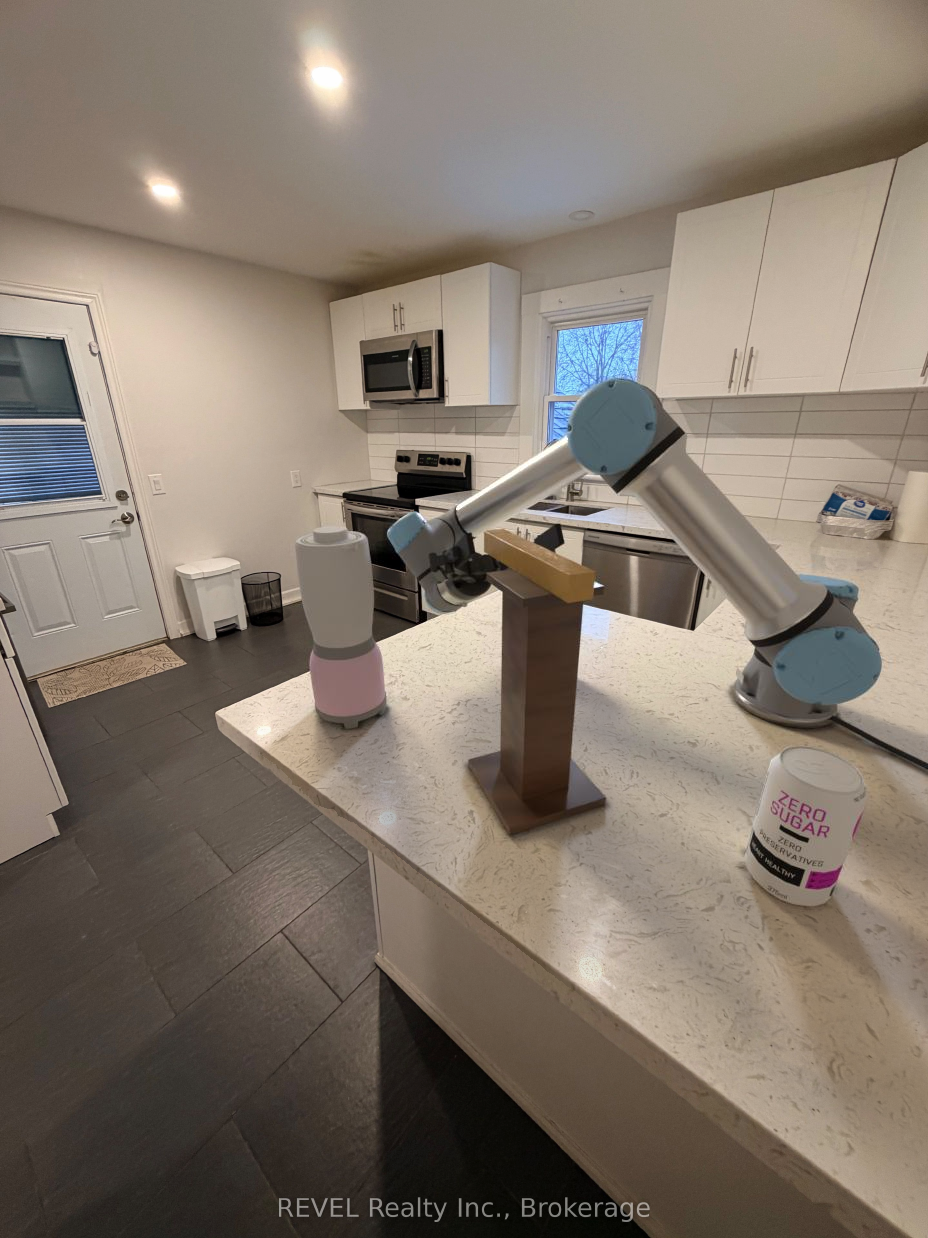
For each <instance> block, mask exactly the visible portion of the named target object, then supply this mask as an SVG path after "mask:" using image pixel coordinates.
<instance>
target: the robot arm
mask: <svg viewBox="0 0 928 1238" xmlns="http://www.w3.org/2000/svg"><path fill="white" fill-rule="evenodd" d="M687 439H688V434H687V432H685V431H684V429H683V428H682V427H681V426H680V425H679V424H678V423H677V422H676V420H674V418H673V417H672V416H671V415H670V414H669V412H667V410H666V409H665V408H664V406H663V404H662V401H661V399H660V398H659V396H658V395H657V394H656V393H655V392H654V391H653V390H652V389H650V387H647V386H646V385H644V384H640V383H639V382H637V381H635V380H632V379H629V378H624V377H622V378H621V377H620V378H619V377H614V378H609V379H606V380H603V381H601V382H598V383H597V384H595V385H593V386H591V387H590V388H588V389H587V390H586V391H585V392H584V393H583V394H582V395H581V396H579V397H578V399H577V401H576V402H575V404H574V405H573V407H572V409H571V411H570V414H569V417H568V420H567V425H566V435H565V436H563V437H562V438H560V439H558V440H557V441H555V442H554V443H552V444H550V445H549V446H547V447H546V448H544V449H542V450H541V451H540V452H538V453H537V454H534V455H533V456H532V457H530V458H529V459H527V460H526V461H524V462H523V463H521V464H519V465H518V466H516V467H514V468H513V469H511V470H510V471H509V472H507V473H505V474H504V475H502V476H501V477H499V478H498V479H496V480H494V481H493V482H491V483H490V484H488V485H486V486H485V487H483V488H482V489H480V490H479V491H477V492H476V493H474V494H473V495H471V496H470V497H468V498H467V499H464V500H463V501H462V502H460V503H458V504H457V505H455V506H454V507H451V508H450V509H449V510H447V511H446V512H444V513H442V514H440V515H439V516H436V517H434V518H431V519H428V520H426V518H424V517H423V516H422V514H420V513H419V512H418V511H412V512H408V513H407V514H405V515H403V516H402V517H400V518H399V519H397V521H395V522H394V523H393V524H392V525H391V526H390V527H389V528H388V530H387V532H386V536H387V539H388V540H389V542H390V543H391V545H392V546H393V548H394V551H395V553H396V554H397V555H398V556H399V557H400V558H401V560H402V561H403V563H404V564H405V566H406V567H407V568H408V569H409V571H410V572H411V574H412V575H413V576H414V578H415V579H416V580H417V582H418V583H419V585H420V587H421V588H422V589H423V590H424V600H425V603H426V604H427V606H428V607H429V609H430V610H431V611H433V612H435V613H437V614H442V615H446V614H451V613H453V612H455V613H456V612H457V611H459V610H460V609H462V608H466V607H468V604H469V603H470V602H472V601H474V600H475V599H477V598H479V597H481V596H483V595H484V594H486V593H487V592H488V591H489V590H490V589H491V587H492V586H493V585H492V584H491V583H489V582H488V581H487V580H486V573H488V572H495V571H503V570H511V568H510V567H508V566H506V565H505V564H503V563H502V562H500V561H498V560H497V559H495V558H493V557H492V556H490V555H488V554H487V553H484V554H482V553H479V552H477V551H476V549H475V541H474V540H475V539H477V538H478V537H480V536H482V535H484V531H487V530H493V529H494V528H496V527H497V526H499V525H501V524H503V523H504V522H506V521H508V520H510V519H511V518H513V517H515V516H518V514H520V513H522V512H524V511H526V510H528V509H529V508H530V507H533V506H534V505H536V504H537V503H540V502H542V501H543V500H545V499H547V498H548V497H551V496H552V495H554V494H555V493H557V492H559V491H561V490H562V489H564V488H566V487H567V486H570V485H571V484H573V483H574V482H576V481H578V480H580V479H582V478H584V477H585V476H587V475H588V474H590V475H593V476H600V477H601V478H602V480H603V481H604V482H605V483H606V484H607V485H608V486H609V488H610V489H612V491H613V492H614V493H615V494H616V495H617V496H618V497H632V498H635V499H636V501H638V502H639V504H640V505H641V506H642V507H643V508H644V509H645V510H646V512H647V513H648V514H649V515H650V516H651V517H652V518H653V519H654V520H655V521H656V522H657V523H658V525H659V526H660V527H661V528H662V529H663V530H664V531H665V532H666V533H667V534H668V535H669V537H670V538H671V540H673V541H674V543H676V545H677V546H678V547H679V548H680V549H681V550H682V551H683V552H684V554H686V556H688V558H689V559H690V560H691V561H692V562H693V563H694V564H695V566H696V567H697V568H698V569H699V570H700V571H701V572H702V573H703V574H704V575H705V577H706V578H707V579H708V580H709V581H710V582H711V583H712V584H713V585H714V587H715V588H717V591H719V592H720V593H721V594H722V595H723V596H724V598H725V599H726V600H727V601H728V602H729V603H730V604H731V605H732V606H733V608H734V609H735V610H736V611H737V612H738V613H739V614H740V615H741V616H742V617H743V619H744V620H745V624H744V631H743V633H744V634H743V635H744V637H745V638H746V639H747V640H748V641H749V642H750V643H751V645H752V646H753V647H754V650H753V655H752V656H751V658H750V659H749V661H748V662H747V663H746V665H745V666H744V667H743V669H742V671H741V669H739V667H738V666H736V669H735V676H736V677H737V678H736V679H735V681H734V685H733V689H732V696H733V698H734V700H735V701H736V703H737V704H738V705H739V707H741V708H743V709H744V710H745V711H747V712H748V713H750V714H752V715H754V716H756V717H757V718H760V719H763V720H765V721H768V722H771V723H774V724H777V725H782V726H785V727H791V728H799V729H816V728H822V727H826V726H828V725H831V723H833V722H834V723H835V724H837V725H839V726H841V727H843V728H845V729H846V730H849V731H851V732H852V733H854V734H856V735H858V736H860V737H862V738H864V739H865V740H867V741H869V742H871V743H872V744H875V745H877V746H879V747H881V748H882V749H885V751H888V752H890V753H892V754H895V755H897V756H898V757H901V758H903V759H905V760H906V761H909V762H911V763H913V764H915V765H917V766H920V767H921V768H923V769H925V770H927V771H928V762H927V761H924V760H922V759H921V758H918V757H916V756H914V755H912V754H910V753H908V752H906V751H903V750H902V749H900V748H897V747H896V746H893V745H891V744H889V743H887V742H886V741H883V740H881V739H879V738H877V737H875V736H873V735H872V734H870V733H868V732H866V731H864V730H862V729H860V728H859V727H857V726H855V725H853V724H851V723H849V722H847V721H845V720H843V719H841V718H839V717H837V716H836V715H837V711H838V705H840V704H844V703H847V702H850V701H853V700H856V699H857V698H860V697H861V696H862V695H864V694H865V693H867V692H868V691H869V690H870V689H872V687H873V686H874V685H875V684H876V683H877V681H878V679H879V677H880V676H881V672H882V667H883V661H882V656H881V653H880V647H879V645H878V643H877V641H875V640H874V638H873V637H872V636H871V635H870V634H869V633H868V632H867V630H866V629H865V627H864V625H862V623H861V621H860V620H859V619H858V617H857V616H856V615H855V613H854V609H855V606H856V604H857V602H858V601H859V591H860V589H859V587H858V586H857V585H856V584H855V583H853V582H850V581H848V580H844V579H841V578H840V579H839V578H835V577H829V576H822V575H813V574H805V573H803V574H802V573H796V572H795V571H794V569H792V567H791V566H790V565H789V564H788V563H787V562H786V561H785V560H784V559H783V558H782V556H781V555H780V554H779V553H778V552H777V551H776V550H775V549H774V547H772V545H771V544H770V543H769V542H768V541H767V540H766V539H765V538H764V537H763V535H762V534H761V533H760V532H759V531H758V530H757V529H756V528H755V527H754V526H753V524H752V523H751V522H750V521H749V520H748V519H747V518H746V517H745V516H744V515H743V513H742V512H741V511H740V510H739V509H738V508H737V507H736V505H734V503H733V502H732V501H731V500H730V499H729V498H728V497H727V495H725V494H724V492H722V490H721V489H720V488H719V487H718V486H717V485H716V484H715V483H714V482H713V481H712V479H711V478H710V477H709V476H708V475H707V474H706V473H705V471H704V470H703V469H702V468H701V467H700V466H699V465H698V464H697V463H696V462H695V461H694V460H693V459H692V457H691V456H690V455H689V454H688V453H687ZM532 542H533V543H535V544H537V545H539V546H541V547H544V548H546V549H548V550H550V551H552V552H554V553H557V552H556V549H558V548H560V547H561V546H563V545H565V542H566V541H565V539H564V533H563V529H562V524H561V523H554V524H553V525H551V526H550V527H549V528H547V529H546V530H544V531H543V532H542V533H540V534H537V536H536V537H535V538H534V539H533V541H532Z"/></svg>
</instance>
